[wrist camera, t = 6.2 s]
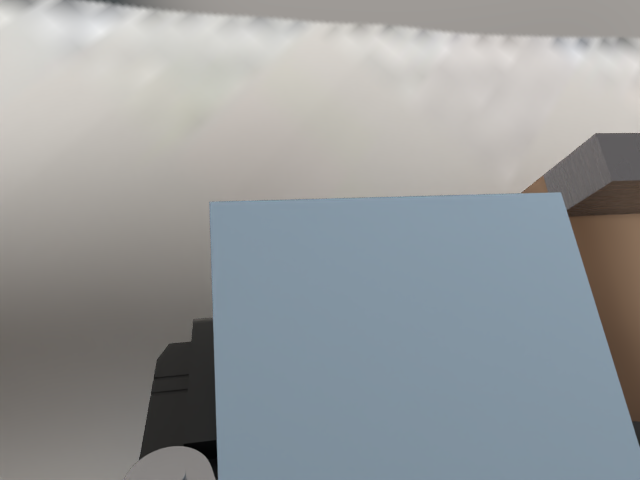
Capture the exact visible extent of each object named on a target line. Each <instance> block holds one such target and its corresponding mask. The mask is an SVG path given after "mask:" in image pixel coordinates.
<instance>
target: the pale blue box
mask: <svg viewBox="0 0 640 480" xmlns="http://www.w3.org/2000/svg"><path fill="white" fill-rule="evenodd" d="M209 204H210V236H211V268H212V300H213V332H214V364H215V396H216V428H217V460H218V480H640V447H639V443H638V440H637V437H636V434H635V430H634V427H633V424H632V421H631V417H630V414H629V411H628V408H627V404H626V401H625V398H624V395H623V391H622V388H621V385H620V382H619V379H618V375H617V372H616V369H615V366H614V362H613V359H612V356H611V353H610V349H609V346H608V343H607V340H606V336H605V333H604V330H603V327H602V323H601V320H600V317H599V314H598V311H597V307H596V304H595V301H594V298H593V294H592V291H591V288H590V285H589V281H588V278H587V275H586V272H585V268H584V265H583V262H582V259H581V255H580V252H579V249H578V246H577V243H576V239H575V236H574V233H573V230H572V226H571V223H570V220H569V217H568V213H567V210H566V207H565V204H564V200H563V197H562V194H561V192H555V193H518V194H481V195H444V196H407V197H370V198H333V199H296V200H259V201H223V202H209Z"/></svg>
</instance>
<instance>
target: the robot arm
mask: <svg viewBox="0 0 640 480" xmlns="http://www.w3.org/2000/svg"><path fill="white" fill-rule="evenodd" d="M632 424H633V427H634V430H635V434H636V437H637V440H638V443H639V447H640V422H638V421H632ZM124 480H218V460H217V428H216V396H215V364H214V332H213V318H204V319H194V320H193V329H192V342H185V343H173V344H169V345H168V346H167V348H166V349H165V350H164V352H163V353H162V354H161V355H160V357H159V358H158V359H157V363H156V368H155V374H154V381H153V385H152V391H151V397H150V402H149V408H148V414H147V420H146V425H145V431H144V437H143V442H142V448H141V454H140V457H139V461H138V462H137V463H136V464H135V465H133V467H132V468H131V469H130V470H129V471H128V473H127V475H126V476H125V478H124Z"/></svg>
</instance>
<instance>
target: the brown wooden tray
mask: <svg viewBox="0 0 640 480" xmlns="http://www.w3.org/2000/svg"><path fill="white" fill-rule="evenodd" d="M555 192H561V194H562V197H563V200H564V204H565V207H566V210H567V213H568V217H569V220H570V223H571V226H572V230H573V233H574V236H575V239H576V243H577V246H578V249H579V252H580V255H581V259H582V262H583V265H584V268H585V272H586V275H587V278H588V281H589V285H590V288H591V291H592V294H593V298H594V301H595V304H596V307H597V311H598V314H599V317H600V320H601V323H602V327H603V330H604V333H605V336H606V340H607V343H608V346H609V349H610V353H611V356H612V359H613V362H614V366H615V369H616V372H617V375H618V379H619V382H620V385H621V388H622V391H623V395H624V398H625V401H626V404H627V408H628V411H629V414H630V417H631V421H638V422H640V133H596V134H594V135H593V136H592V137H591V138H589V139H588V140H587V141H586V142H584V143H583V144H582V145H581V146H579V147H578V148H577V149H576V150H574V151H573V152H572V153H571V154H569V155H568V156H567V157H566V158H564V159H563V160H562V161H561V162H559V163H558V164H557V165H556V166H554V167H553V168H552V169H551V170H549V171H548V172H547V173H546V174H544V175H543V176H542V177H541V178H539V179H538V180H537V181H536V182H534V183H533V184H532V185H531V186H529V187H528V188H527V189H526V190H524V191H523V192H522V193H555Z"/></svg>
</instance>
